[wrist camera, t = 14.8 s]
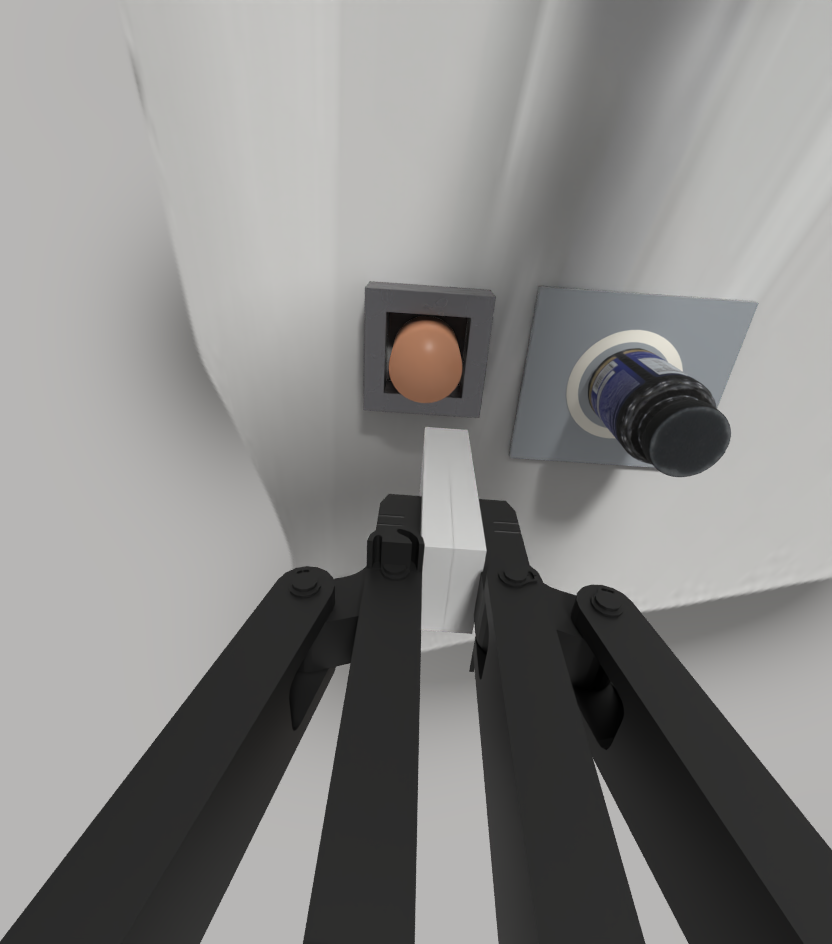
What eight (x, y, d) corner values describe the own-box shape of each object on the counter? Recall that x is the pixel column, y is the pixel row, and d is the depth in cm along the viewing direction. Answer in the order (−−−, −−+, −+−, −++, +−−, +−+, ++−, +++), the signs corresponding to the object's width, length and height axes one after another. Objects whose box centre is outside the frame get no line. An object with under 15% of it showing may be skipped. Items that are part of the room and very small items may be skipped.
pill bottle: (602, 432, 40) (654, 503, 30) (573, 371, 38) (620, 427, 28) (675, 397, 38) (756, 460, 29) (650, 330, 36) (729, 374, 26)
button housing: (369, 281, 36) (365, 287, 33) (490, 290, 36) (495, 296, 33) (368, 396, 40) (363, 410, 37) (475, 403, 40) (479, 417, 37)
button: (394, 313, 36) (390, 328, 31) (461, 318, 36) (466, 333, 31) (392, 378, 38) (387, 400, 34) (454, 382, 38) (458, 405, 34)
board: (539, 286, 35) (541, 287, 35) (753, 301, 36) (759, 303, 35) (509, 454, 42) (510, 458, 42) (689, 466, 42) (693, 470, 42)
